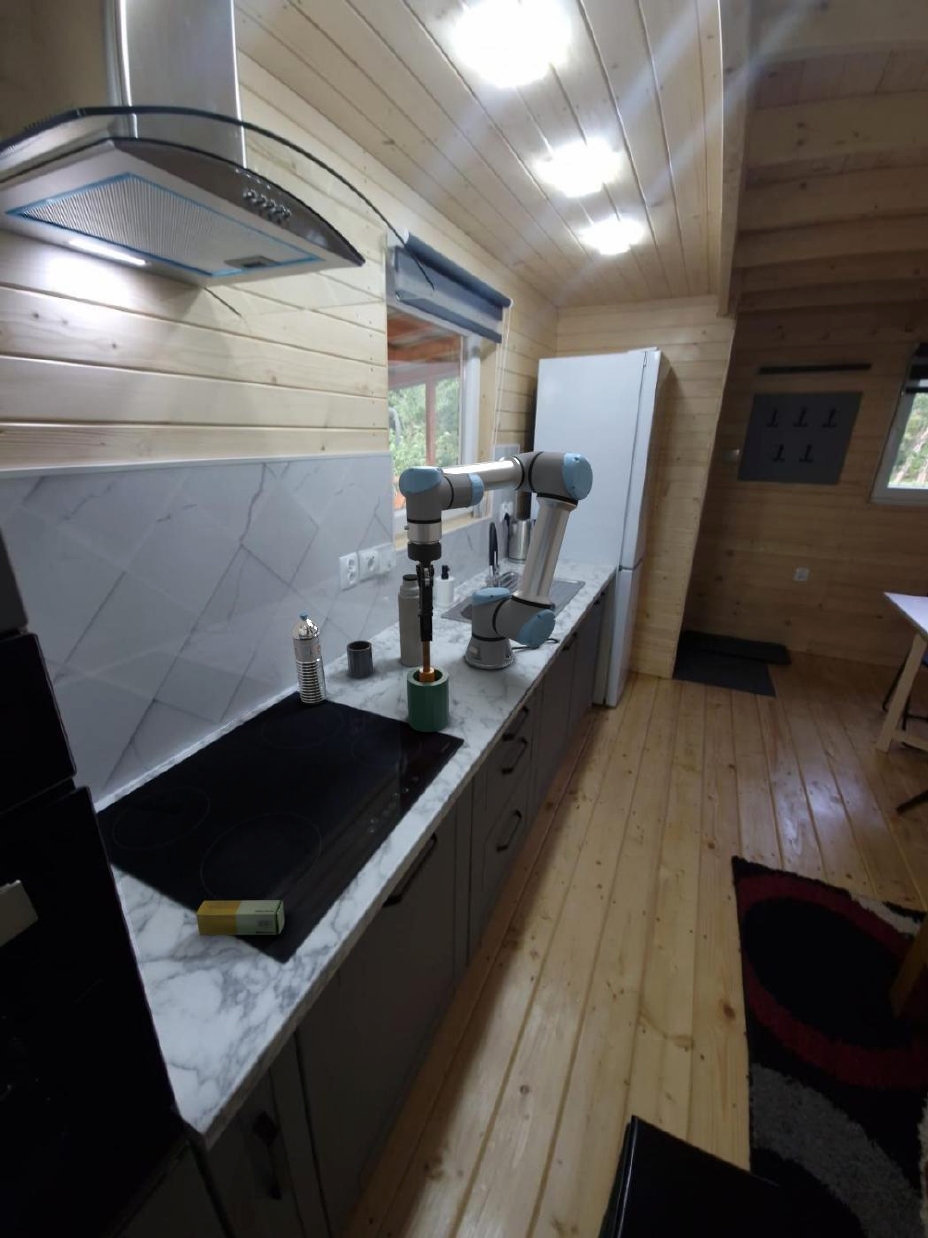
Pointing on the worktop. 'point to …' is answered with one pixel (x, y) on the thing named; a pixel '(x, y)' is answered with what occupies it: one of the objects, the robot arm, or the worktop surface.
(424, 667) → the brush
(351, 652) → the holder
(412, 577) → the thermos bottle
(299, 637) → the water bottle
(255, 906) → the medication box
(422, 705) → the jar
